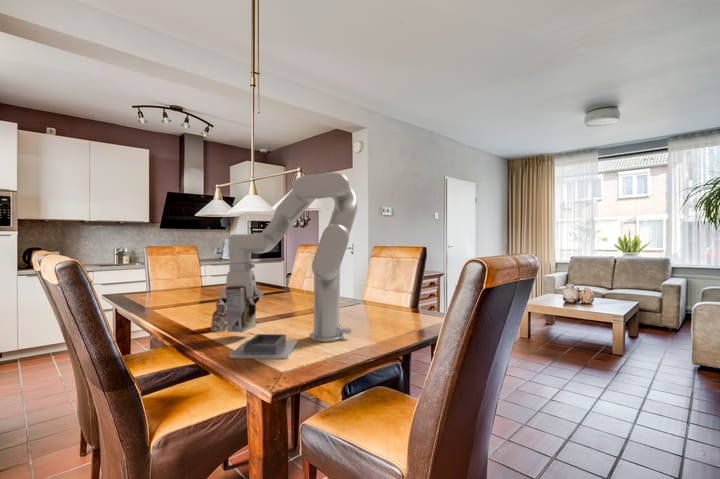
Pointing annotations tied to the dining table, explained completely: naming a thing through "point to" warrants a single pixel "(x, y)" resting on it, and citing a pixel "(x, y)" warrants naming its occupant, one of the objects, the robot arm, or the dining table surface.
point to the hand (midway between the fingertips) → (241, 315)
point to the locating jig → (265, 347)
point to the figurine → (219, 317)
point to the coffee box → (238, 310)
